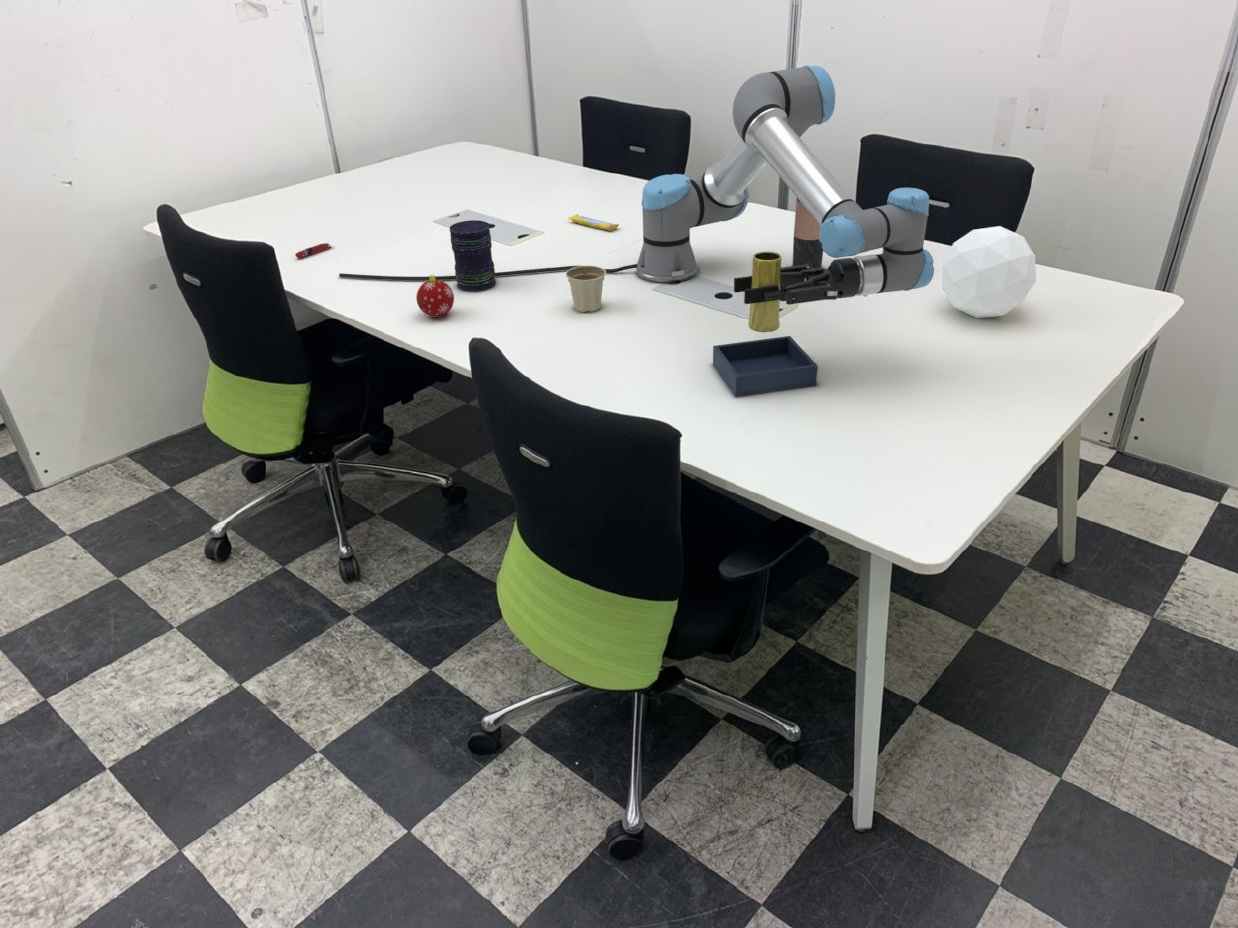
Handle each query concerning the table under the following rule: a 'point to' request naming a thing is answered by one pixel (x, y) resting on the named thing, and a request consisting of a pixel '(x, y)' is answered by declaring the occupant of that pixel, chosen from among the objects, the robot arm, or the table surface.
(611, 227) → the candy bar
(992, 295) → the geometric polyhedron
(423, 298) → the christmas ornament
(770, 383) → the tray
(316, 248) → the utility knife
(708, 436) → the table surface
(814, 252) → the travel mug
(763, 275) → the vase
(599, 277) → the flower pot
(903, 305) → the table surface
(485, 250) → the storage jar
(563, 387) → the table surface
